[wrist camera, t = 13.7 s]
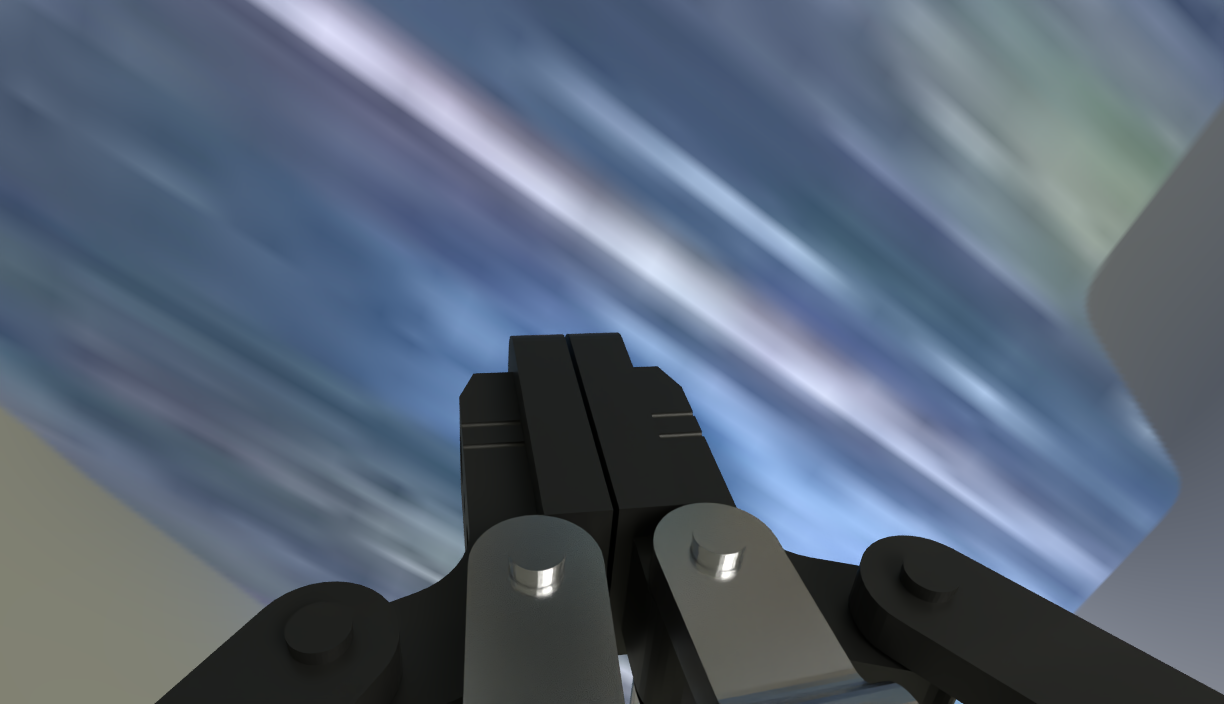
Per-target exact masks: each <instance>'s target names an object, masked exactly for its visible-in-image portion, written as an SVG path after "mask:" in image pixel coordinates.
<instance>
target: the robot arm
mask: <svg viewBox="0 0 1224 704" xmlns="http://www.w3.org/2000/svg"><path fill="white" fill-rule="evenodd" d="M459 405H460V466H461V495H462V510H463V524H464V537H465V553H464V555H463V557H462V559H461V560H460V562H459V563H458V564H457V566H456V567H455V568H454V569H453V570H452V571H451V572H450V573H449V574H448V575H446V576H445V577H444V578H443V579H441V580H440V581H439V582H437V583H435V584H433V585H432V586H430V587H428V588H426V589H424V590H421V591H419V592H417V593H414V594H411V595H409V596H406V597H403V598H400V599H397V600H395V601H392V602H388V601H387V600H386V599H385V598H384V597H383V596H382V595H380V594H379V593H377V592H375V591H374V590H372V589H370V588H367V587H365V586H362V585H359V584H354V583H349V582H322V583H316V584H311V585H308V586H304V587H301V588H298V589H295V590H293V591H291V592H288V593H286V594H284V595H283V596H281V597H279V598H277V599H276V600H274V601H273V602H271V603H270V604H269V605H268V606H266V607H265V608H264V609H262V610H261V611H260V612H259V613H258V614H257V615H256V616H254V617H253V618H252V619H251V620H250V621H249V622H248V623H246V624H245V625H244V626H243V627H242V628H241V629H240V630H238V631H237V632H236V633H235V634H234V635H233V636H232V637H230V639H228V640H227V641H226V642H225V643H224V644H222V645H221V646H220V647H219V648H218V649H217V650H216V651H214V652H213V653H212V654H211V655H210V656H209V657H208V658H206V659H205V660H204V661H203V662H202V663H201V664H199V665H198V666H197V667H196V668H195V669H194V670H193V671H191V672H190V673H189V674H188V675H187V676H186V677H185V678H183V679H182V680H181V681H180V682H179V683H178V684H177V685H175V686H174V687H173V688H172V689H171V690H170V691H169V692H167V693H166V694H165V695H164V696H163V697H162V698H161V699H160V700H158V701H157V702H156V703H155V704H625V701H624V694H623V687H622V680H621V674H620V667H619V660H618V655H624V654H627V655H628V659H629V663H630V667H631V671H632V675H633V682H632V689H631V696H630V704H954V703H955V701H956V699H957V700H958V701H960V702H961V703H963V704H1224V695H1223V694H1221V693H1219V692H1217V691H1215V690H1213V689H1211V688H1210V687H1208V686H1206V685H1204V684H1202V683H1200V682H1199V681H1197V680H1195V679H1193V678H1191V677H1189V676H1188V675H1186V674H1184V673H1182V672H1180V671H1178V670H1177V669H1174V668H1173V667H1171V666H1169V665H1167V664H1165V663H1163V662H1161V661H1160V660H1158V659H1156V658H1154V657H1152V656H1151V655H1149V654H1147V653H1145V652H1143V651H1141V650H1139V649H1138V648H1136V647H1134V646H1132V645H1130V644H1128V643H1126V642H1125V641H1123V640H1121V639H1119V638H1117V637H1115V636H1113V635H1112V634H1110V633H1108V632H1106V631H1104V630H1102V629H1100V628H1099V627H1097V626H1095V625H1093V624H1091V623H1089V622H1087V621H1086V620H1084V619H1082V618H1080V617H1078V616H1076V615H1075V614H1073V613H1071V612H1069V611H1067V610H1065V609H1063V608H1062V607H1060V606H1058V605H1056V604H1054V603H1052V602H1050V601H1049V600H1047V599H1045V598H1043V597H1041V596H1039V595H1037V594H1036V593H1034V592H1032V591H1030V590H1028V589H1026V588H1024V587H1023V586H1021V585H1019V584H1017V583H1015V582H1013V581H1011V580H1010V579H1008V578H1006V577H1004V576H1002V575H1000V574H998V573H997V572H995V571H993V570H991V569H989V568H987V567H985V566H984V565H982V564H980V563H978V562H976V561H974V560H973V559H971V558H969V557H967V556H965V555H963V554H961V553H960V552H958V551H956V550H954V549H952V548H950V547H948V546H946V545H944V544H941V543H939V542H936V541H933V540H930V539H926V538H922V537H916V536H891V537H886V538H883V539H880V540H878V541H876V542H874V543H873V544H871V545H870V546H869V547H868V548H867V549H866V551H865V552H864V554H863V556H862V559H861V562H860V565H859V566H858V565H852V564H846V563H840V562H834V561H828V560H823V559H817V558H811V557H806V556H802V555H798V554H795V553H792V552H789V551H786V550H784V549H783V548H782V546H781V544H780V543H779V541H778V539H777V538H776V536H775V535H774V534H773V532H772V531H771V530H770V529H769V528H768V527H767V526H766V525H765V524H764V523H763V522H762V521H760V520H759V519H758V518H756V517H755V516H753V515H751V514H749V513H748V512H745V511H743V510H741V509H738V508H737V507H736V505H735V503H734V501H733V499H732V496H731V494H730V492H729V490H728V488H727V485H726V483H725V481H724V479H723V477H722V474H721V472H720V470H719V468H718V466H717V464H716V461H715V459H714V457H713V455H712V453H711V450H710V448H709V446H708V444H707V442H706V439H705V437H704V436H702V431H701V428H700V426H699V424H698V422H697V420H696V417H695V416H693V411H692V409H691V406H690V404H689V402H688V400H687V398H686V396H685V393H684V391H683V389H682V387H681V386H680V385H679V384H678V383H676V382H675V381H674V380H673V379H672V378H671V377H669V376H668V375H667V374H666V373H665V372H664V371H662V370H661V369H660V368H659V367H658V366H653V367H633V365H632V363H631V360H630V357H629V355H628V352H627V350H626V347H625V344H624V342H623V339H622V337H621V335H620V334H619V333H584V334H566V336H565V337H564V335H563V334H557V335H524V336H510V340H509V357H508V372H502V373H476V374H473V375H472V377H471V379H470V380H469V382H468V384H467V385H466V387H465V388H464V390H463V392H462V393H461V395H460V397H459Z"/></svg>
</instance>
